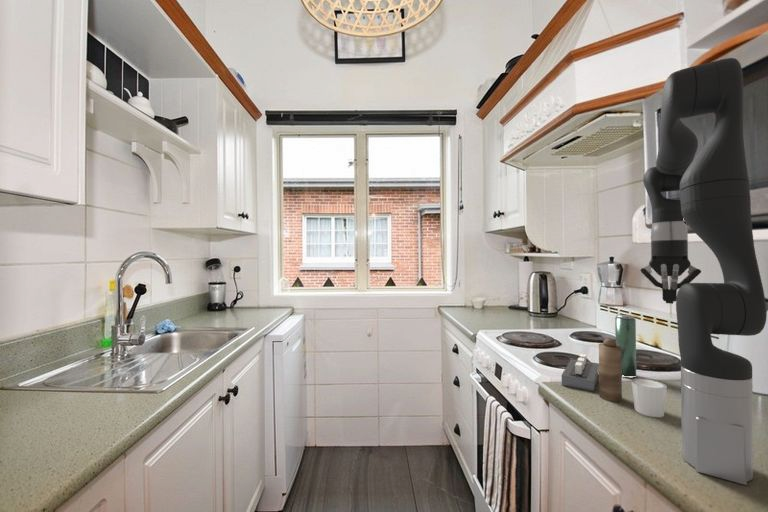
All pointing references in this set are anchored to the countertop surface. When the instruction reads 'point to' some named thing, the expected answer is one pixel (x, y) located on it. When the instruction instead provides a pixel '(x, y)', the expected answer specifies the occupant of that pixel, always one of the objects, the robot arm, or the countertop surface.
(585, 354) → the far paddle
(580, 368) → the near paddle
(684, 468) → the countertop surface
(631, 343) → the green tin
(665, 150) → the robot arm
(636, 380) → the white cup
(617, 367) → the pepper mill
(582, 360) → the middle paddle
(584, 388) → the switch box
